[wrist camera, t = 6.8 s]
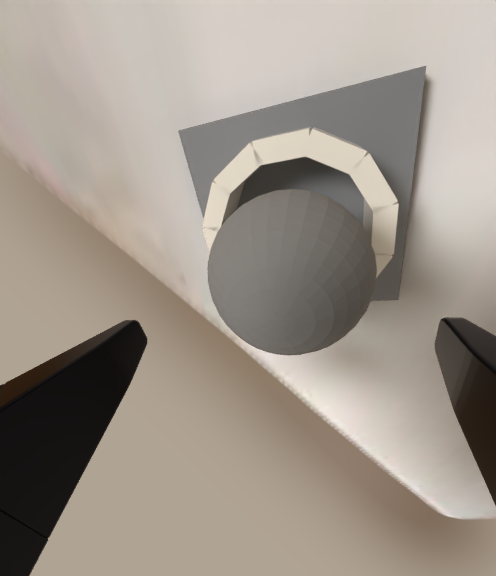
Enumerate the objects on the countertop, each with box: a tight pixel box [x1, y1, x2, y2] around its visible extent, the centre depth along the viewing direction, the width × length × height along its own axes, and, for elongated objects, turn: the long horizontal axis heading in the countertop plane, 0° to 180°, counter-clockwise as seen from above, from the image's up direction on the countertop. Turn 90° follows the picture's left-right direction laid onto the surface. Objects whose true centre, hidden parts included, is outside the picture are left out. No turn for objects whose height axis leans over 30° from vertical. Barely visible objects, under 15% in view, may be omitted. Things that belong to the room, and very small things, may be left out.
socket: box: [178, 66, 426, 301], centre depth 15 cm, size 12×12×4 cm
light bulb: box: [208, 189, 377, 355], centre depth 11 cm, size 6×6×10 cm
